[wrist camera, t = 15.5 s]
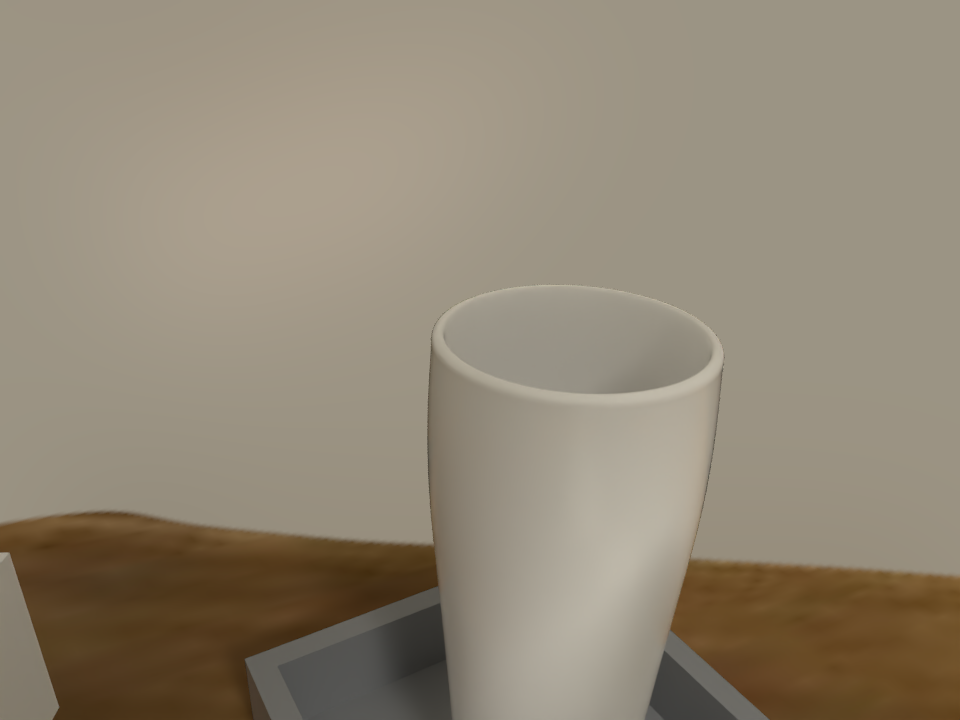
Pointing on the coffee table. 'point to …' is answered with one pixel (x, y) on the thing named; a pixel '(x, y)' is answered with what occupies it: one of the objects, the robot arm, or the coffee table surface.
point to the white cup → (565, 494)
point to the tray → (434, 673)
